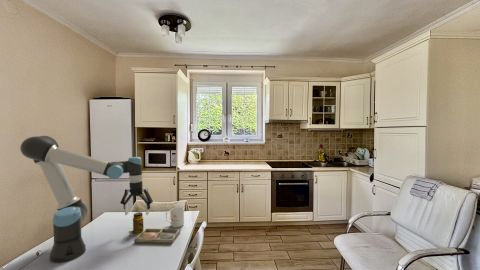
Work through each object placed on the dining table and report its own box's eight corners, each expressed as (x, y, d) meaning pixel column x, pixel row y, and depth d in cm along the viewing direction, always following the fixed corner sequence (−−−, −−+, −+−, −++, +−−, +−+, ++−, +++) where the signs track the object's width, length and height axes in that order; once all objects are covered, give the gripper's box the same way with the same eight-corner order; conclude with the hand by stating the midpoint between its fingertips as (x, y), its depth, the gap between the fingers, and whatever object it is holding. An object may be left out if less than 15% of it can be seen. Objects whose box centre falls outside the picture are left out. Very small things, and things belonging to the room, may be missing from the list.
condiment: (145, 232, 145) (144, 214, 145) (130, 236, 141) (130, 216, 140) (142, 228, 151) (142, 210, 151) (128, 231, 147) (128, 213, 146)
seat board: (171, 244, 130) (171, 239, 130) (134, 243, 132) (134, 239, 132) (179, 232, 144) (179, 229, 144) (146, 232, 146) (145, 228, 146)
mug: (185, 222, 160) (185, 207, 160) (182, 228, 151) (181, 211, 151) (168, 222, 160) (167, 207, 160) (164, 228, 151) (163, 211, 151)
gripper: (157, 179, 148) (158, 212, 149) (120, 180, 150) (121, 212, 150) (152, 182, 141) (153, 216, 141) (113, 182, 142) (114, 216, 143)
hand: (137, 214), depth 146 cm, fingers open, 13 cm apart
